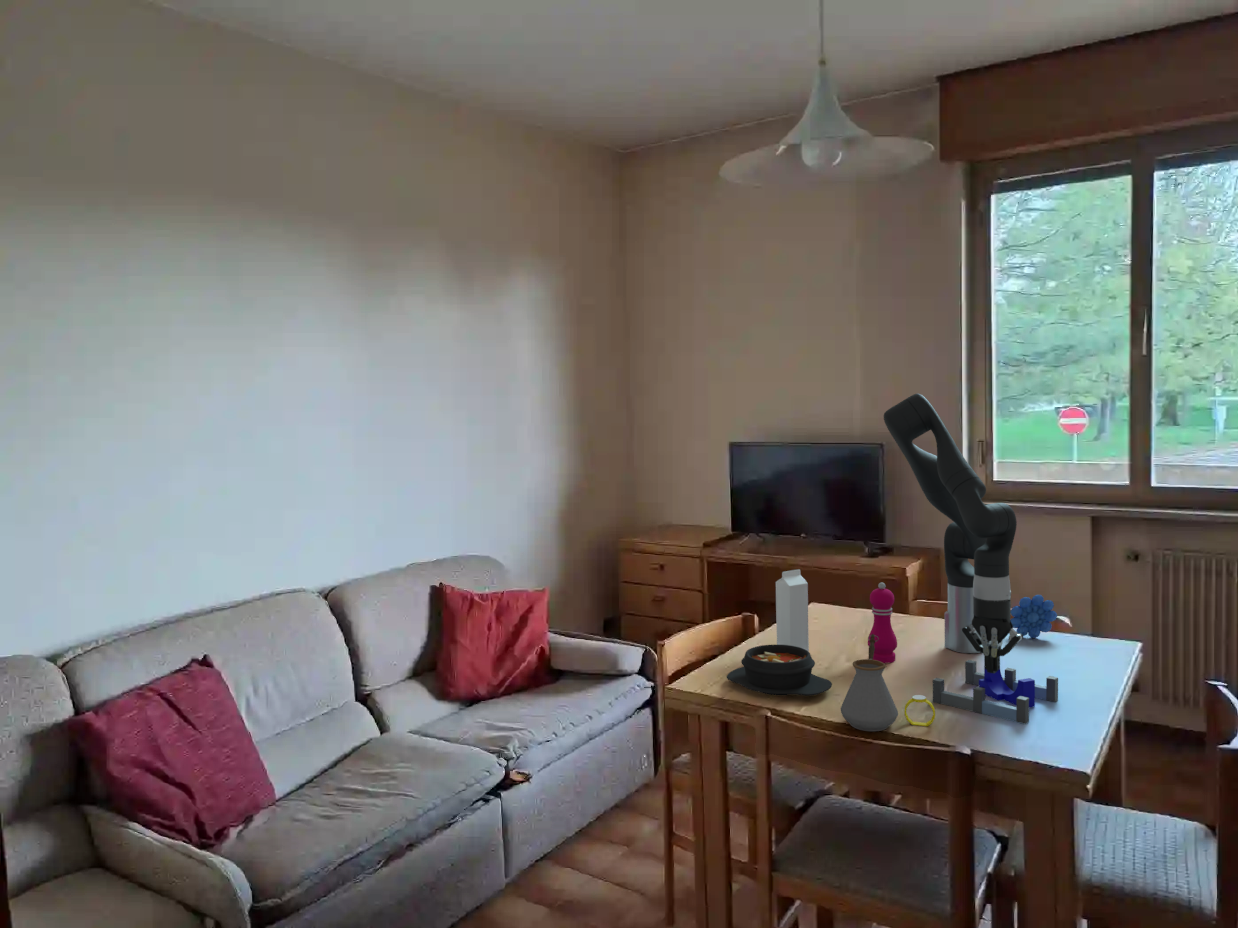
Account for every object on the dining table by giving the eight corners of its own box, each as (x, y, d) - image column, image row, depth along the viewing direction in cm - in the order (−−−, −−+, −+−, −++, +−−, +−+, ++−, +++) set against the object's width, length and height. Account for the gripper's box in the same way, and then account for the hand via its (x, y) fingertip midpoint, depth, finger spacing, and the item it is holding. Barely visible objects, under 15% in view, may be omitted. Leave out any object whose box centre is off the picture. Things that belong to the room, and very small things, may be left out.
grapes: (1055, 635, 241) (1055, 591, 240) (1057, 642, 234) (1058, 597, 233) (1008, 632, 245) (1008, 589, 244) (1009, 638, 238) (1010, 595, 238)
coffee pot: (897, 737, 175) (896, 664, 174) (837, 731, 179) (836, 659, 178) (900, 700, 195) (900, 634, 194) (847, 696, 199) (846, 631, 198)
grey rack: (932, 701, 194) (932, 679, 194) (968, 680, 207) (968, 659, 206) (1025, 723, 180) (1025, 700, 179) (1057, 699, 193) (1058, 677, 192)
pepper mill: (863, 656, 228) (862, 580, 226) (890, 654, 228) (890, 578, 227) (874, 664, 221) (873, 586, 219) (902, 663, 221) (901, 584, 219)
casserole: (844, 685, 206) (844, 650, 206) (811, 710, 191) (810, 672, 191) (749, 668, 221) (749, 635, 221) (711, 690, 206) (710, 655, 206)
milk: (776, 651, 234) (774, 569, 233) (795, 647, 237) (793, 567, 235) (790, 657, 229) (788, 573, 227) (809, 653, 232) (807, 570, 230)
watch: (905, 727, 181) (902, 699, 181) (905, 722, 184) (903, 694, 183) (936, 728, 179) (933, 699, 179) (935, 723, 182) (933, 694, 181)
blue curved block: (978, 692, 199) (978, 666, 199) (995, 689, 201) (995, 663, 200) (1017, 710, 188) (1017, 682, 187) (1034, 707, 189) (1034, 680, 189)
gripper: (954, 594, 194) (955, 670, 196) (1016, 602, 185) (1016, 682, 186) (968, 587, 199) (969, 662, 201) (1029, 595, 190) (1029, 673, 192)
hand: (992, 671), depth 194 cm, fingers closed
